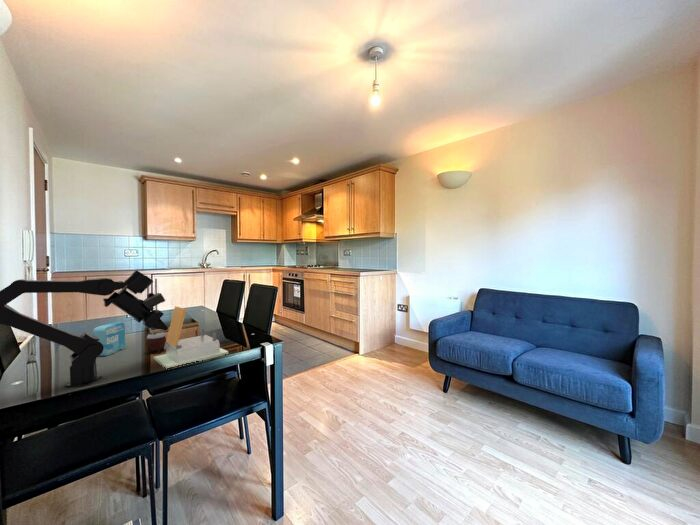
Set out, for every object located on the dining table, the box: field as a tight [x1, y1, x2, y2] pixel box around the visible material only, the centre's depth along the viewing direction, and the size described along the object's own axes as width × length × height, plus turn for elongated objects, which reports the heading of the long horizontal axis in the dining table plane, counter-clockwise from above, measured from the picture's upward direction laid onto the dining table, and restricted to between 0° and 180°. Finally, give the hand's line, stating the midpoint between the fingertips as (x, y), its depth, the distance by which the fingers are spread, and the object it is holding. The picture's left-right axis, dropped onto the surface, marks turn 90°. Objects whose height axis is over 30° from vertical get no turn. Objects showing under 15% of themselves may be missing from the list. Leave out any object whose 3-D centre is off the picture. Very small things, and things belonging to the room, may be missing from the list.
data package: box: [92, 321, 126, 357], centre depth 126 cm, size 12×4×12 cm, turn 4°
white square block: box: [165, 327, 221, 363], centre depth 117 cm, size 15×15×8 cm
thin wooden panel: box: [165, 306, 187, 347], centre depth 113 cm, size 14×11×1 cm
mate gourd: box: [145, 328, 167, 355], centre depth 124 cm, size 8×8×15 cm
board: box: [153, 347, 229, 370], centre depth 117 cm, size 22×17×1 cm
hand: (167, 329), depth 111 cm, fingers closed
